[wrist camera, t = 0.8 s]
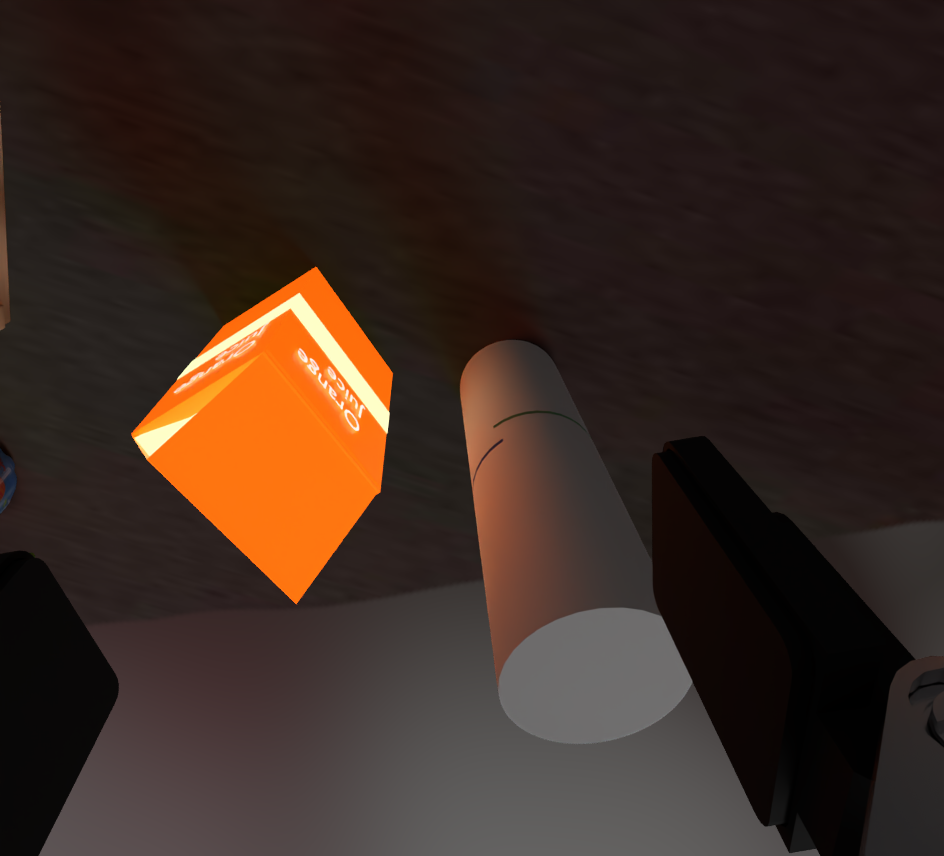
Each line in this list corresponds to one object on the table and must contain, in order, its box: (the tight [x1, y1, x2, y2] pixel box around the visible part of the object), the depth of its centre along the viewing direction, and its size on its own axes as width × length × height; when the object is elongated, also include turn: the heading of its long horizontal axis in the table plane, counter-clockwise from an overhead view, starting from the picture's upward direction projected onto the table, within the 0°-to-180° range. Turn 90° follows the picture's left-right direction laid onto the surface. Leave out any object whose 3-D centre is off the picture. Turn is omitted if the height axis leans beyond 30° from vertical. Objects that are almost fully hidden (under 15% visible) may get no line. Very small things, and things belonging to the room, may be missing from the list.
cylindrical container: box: [460, 340, 692, 744], centre depth 33 cm, size 7×7×25 cm
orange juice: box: [132, 267, 393, 604], centre depth 33 cm, size 8×9×20 cm
